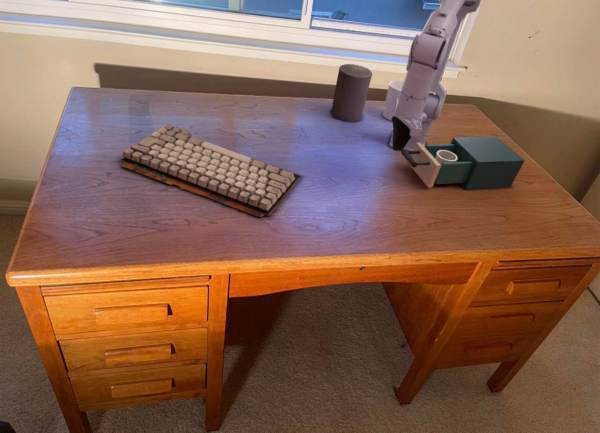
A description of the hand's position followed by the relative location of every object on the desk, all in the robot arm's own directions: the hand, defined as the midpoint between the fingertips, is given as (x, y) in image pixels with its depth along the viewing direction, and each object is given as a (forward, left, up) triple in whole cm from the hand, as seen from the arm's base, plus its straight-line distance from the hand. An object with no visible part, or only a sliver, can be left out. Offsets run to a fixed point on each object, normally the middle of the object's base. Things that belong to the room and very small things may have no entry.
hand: (397, 149), depth 101 cm
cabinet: (+22, +13, -9) cm, 27 cm away
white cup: (-2, +37, -9) cm, 38 cm away
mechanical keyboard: (-40, -15, -9) cm, 43 cm away
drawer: (+10, +6, -8) cm, 14 cm away
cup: (+12, +7, -7) cm, 16 cm away
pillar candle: (-16, +31, -9) cm, 36 cm away
